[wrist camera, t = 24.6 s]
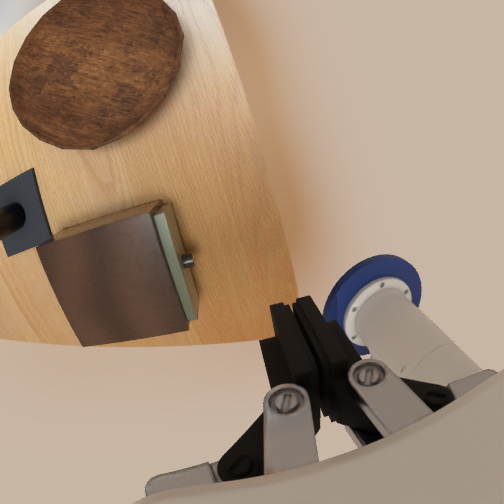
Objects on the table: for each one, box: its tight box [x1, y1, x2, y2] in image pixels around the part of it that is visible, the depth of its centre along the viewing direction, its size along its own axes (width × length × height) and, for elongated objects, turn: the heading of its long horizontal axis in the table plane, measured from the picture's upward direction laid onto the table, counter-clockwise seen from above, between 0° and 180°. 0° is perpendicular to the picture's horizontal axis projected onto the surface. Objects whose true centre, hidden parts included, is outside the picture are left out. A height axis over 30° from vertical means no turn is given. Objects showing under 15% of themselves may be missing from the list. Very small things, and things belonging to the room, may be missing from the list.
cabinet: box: [36, 199, 190, 347], centre depth 30 cm, size 15×14×7 cm
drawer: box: [153, 203, 199, 321], centre depth 30 cm, size 15×12×5 cm
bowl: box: [9, 0, 184, 150], centre depth 22 cm, size 20×22×5 cm
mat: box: [0, 168, 52, 257], centre depth 28 cm, size 10×10×1 cm
